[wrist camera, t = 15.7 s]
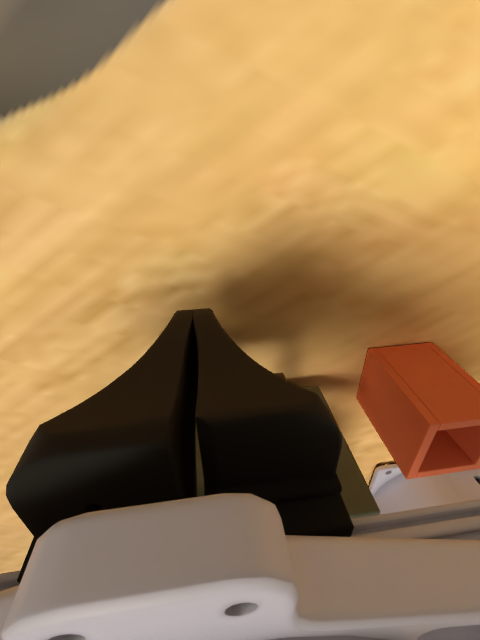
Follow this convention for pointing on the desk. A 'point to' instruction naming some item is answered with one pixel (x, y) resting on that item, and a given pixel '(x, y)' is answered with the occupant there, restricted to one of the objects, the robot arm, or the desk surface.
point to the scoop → (422, 409)
